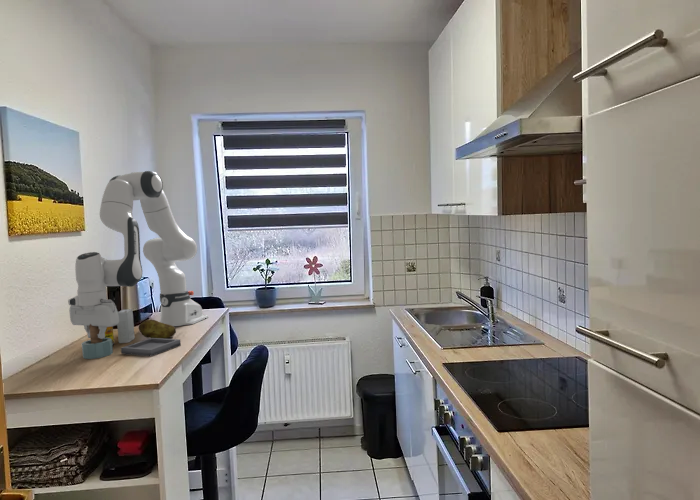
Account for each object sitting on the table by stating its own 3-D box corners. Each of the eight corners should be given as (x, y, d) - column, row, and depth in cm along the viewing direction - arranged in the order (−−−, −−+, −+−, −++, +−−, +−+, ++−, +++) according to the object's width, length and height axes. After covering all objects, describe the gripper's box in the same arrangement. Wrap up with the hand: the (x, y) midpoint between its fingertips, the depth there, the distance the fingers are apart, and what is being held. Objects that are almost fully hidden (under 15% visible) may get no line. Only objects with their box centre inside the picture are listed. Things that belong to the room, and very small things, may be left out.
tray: (152, 343, 186) (151, 337, 186) (180, 345, 180) (180, 339, 180) (121, 353, 173) (120, 347, 173) (151, 356, 168) (150, 349, 168)
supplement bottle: (99, 348, 184) (96, 321, 183) (97, 345, 188) (94, 319, 188) (115, 345, 187) (112, 318, 186) (113, 342, 191) (110, 316, 191)
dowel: (98, 353, 176) (95, 320, 175) (106, 353, 175) (102, 320, 174) (89, 356, 173) (86, 322, 172) (97, 356, 171) (93, 322, 171)
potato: (172, 340, 189) (170, 319, 189) (137, 343, 188) (135, 322, 188) (177, 335, 198) (176, 315, 197) (144, 338, 196) (142, 318, 196)
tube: (100, 350, 180) (98, 337, 180) (118, 352, 176) (117, 338, 176) (77, 357, 172) (75, 343, 171) (95, 359, 168) (94, 345, 167)
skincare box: (123, 339, 196) (121, 309, 195) (135, 338, 196) (132, 308, 195) (118, 343, 189) (115, 312, 189) (130, 342, 190) (127, 311, 189)
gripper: (121, 297, 171) (125, 337, 172) (80, 297, 179) (84, 334, 180) (106, 301, 165) (110, 341, 166) (64, 300, 174) (68, 338, 175)
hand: (96, 338), depth 173 cm, fingers closed on dowel, 4 cm apart
